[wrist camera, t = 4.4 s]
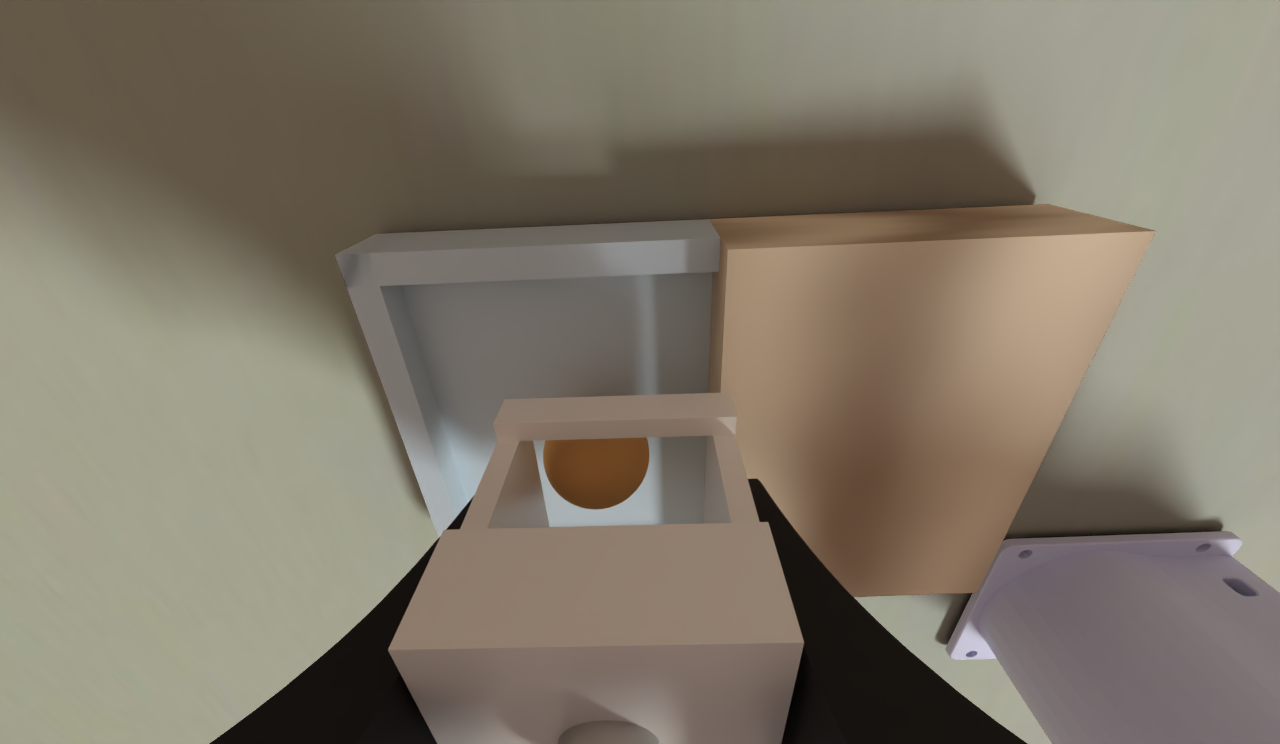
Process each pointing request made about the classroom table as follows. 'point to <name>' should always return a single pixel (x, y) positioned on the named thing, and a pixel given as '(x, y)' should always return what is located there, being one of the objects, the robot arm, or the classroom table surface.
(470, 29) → the classroom table surface
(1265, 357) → the classroom table surface
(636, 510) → the tray
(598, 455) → the ball
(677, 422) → the small drawer with knob
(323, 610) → the classroom table surface
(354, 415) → the classroom table surface
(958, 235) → the board
